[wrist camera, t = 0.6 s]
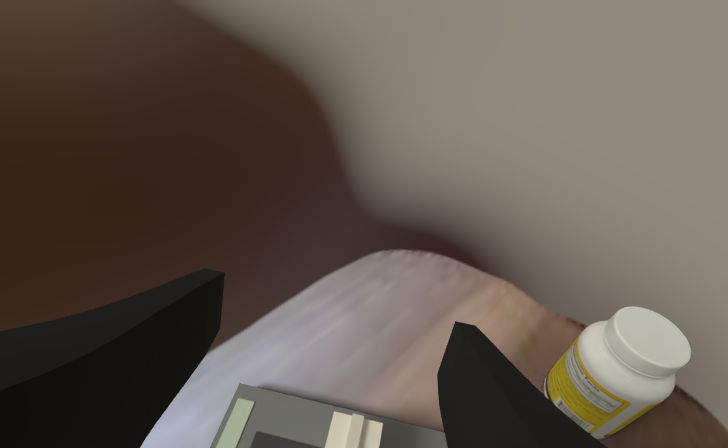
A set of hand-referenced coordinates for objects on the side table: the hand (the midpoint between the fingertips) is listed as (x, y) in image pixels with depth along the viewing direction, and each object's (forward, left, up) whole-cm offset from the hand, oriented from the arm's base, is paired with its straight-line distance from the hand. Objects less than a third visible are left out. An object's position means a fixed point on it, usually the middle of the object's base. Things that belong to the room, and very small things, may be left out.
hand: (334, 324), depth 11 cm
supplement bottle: (+9, -17, -19) cm, 26 cm away
